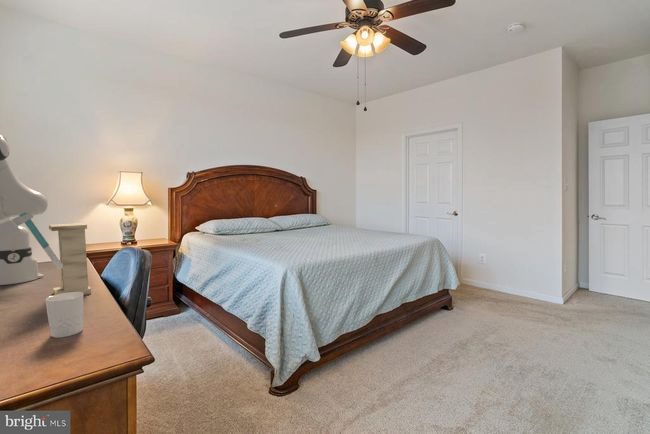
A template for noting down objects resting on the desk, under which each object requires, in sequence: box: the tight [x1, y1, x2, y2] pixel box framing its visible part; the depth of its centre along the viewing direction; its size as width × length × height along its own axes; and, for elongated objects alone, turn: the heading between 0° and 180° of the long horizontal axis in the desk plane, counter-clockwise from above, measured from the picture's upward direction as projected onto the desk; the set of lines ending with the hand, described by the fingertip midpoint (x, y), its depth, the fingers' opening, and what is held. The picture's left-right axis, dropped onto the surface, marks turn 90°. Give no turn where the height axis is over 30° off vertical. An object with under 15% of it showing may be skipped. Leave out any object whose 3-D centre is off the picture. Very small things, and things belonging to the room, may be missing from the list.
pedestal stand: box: [48, 222, 92, 296], centre depth 123 cm, size 12×10×26 cm
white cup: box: [45, 292, 84, 339], centre depth 87 cm, size 8×8×10 cm
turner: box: [19, 212, 64, 271], centre depth 106 cm, size 20×8×2 cm
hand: (31, 214), depth 104 cm, fingers closed on turner, 2 cm apart
